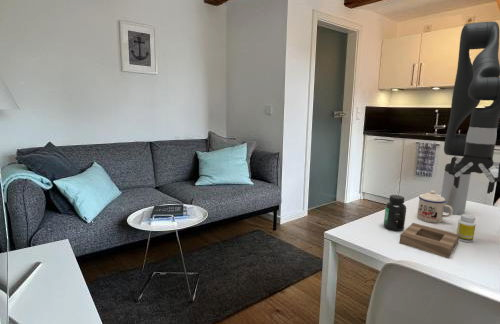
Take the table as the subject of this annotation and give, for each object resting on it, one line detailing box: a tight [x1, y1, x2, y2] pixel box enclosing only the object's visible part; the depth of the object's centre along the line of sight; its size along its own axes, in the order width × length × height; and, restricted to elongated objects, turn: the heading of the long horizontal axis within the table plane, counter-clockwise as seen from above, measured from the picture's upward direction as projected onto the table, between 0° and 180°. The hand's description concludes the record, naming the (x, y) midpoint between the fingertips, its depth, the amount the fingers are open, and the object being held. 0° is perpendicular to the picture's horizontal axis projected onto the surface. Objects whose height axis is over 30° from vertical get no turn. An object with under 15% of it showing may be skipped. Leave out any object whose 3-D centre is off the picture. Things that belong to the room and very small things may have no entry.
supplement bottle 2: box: [456, 213, 476, 243], centre depth 102 cm, size 5×5×8 cm
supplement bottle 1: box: [383, 194, 407, 232], centre depth 110 cm, size 7×7×12 cm
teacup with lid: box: [416, 190, 453, 224], centre depth 118 cm, size 12×9×12 cm
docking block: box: [399, 222, 460, 259], centre depth 99 cm, size 14×14×3 cm
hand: (472, 190), depth 99 cm, fingers open, 8 cm apart
